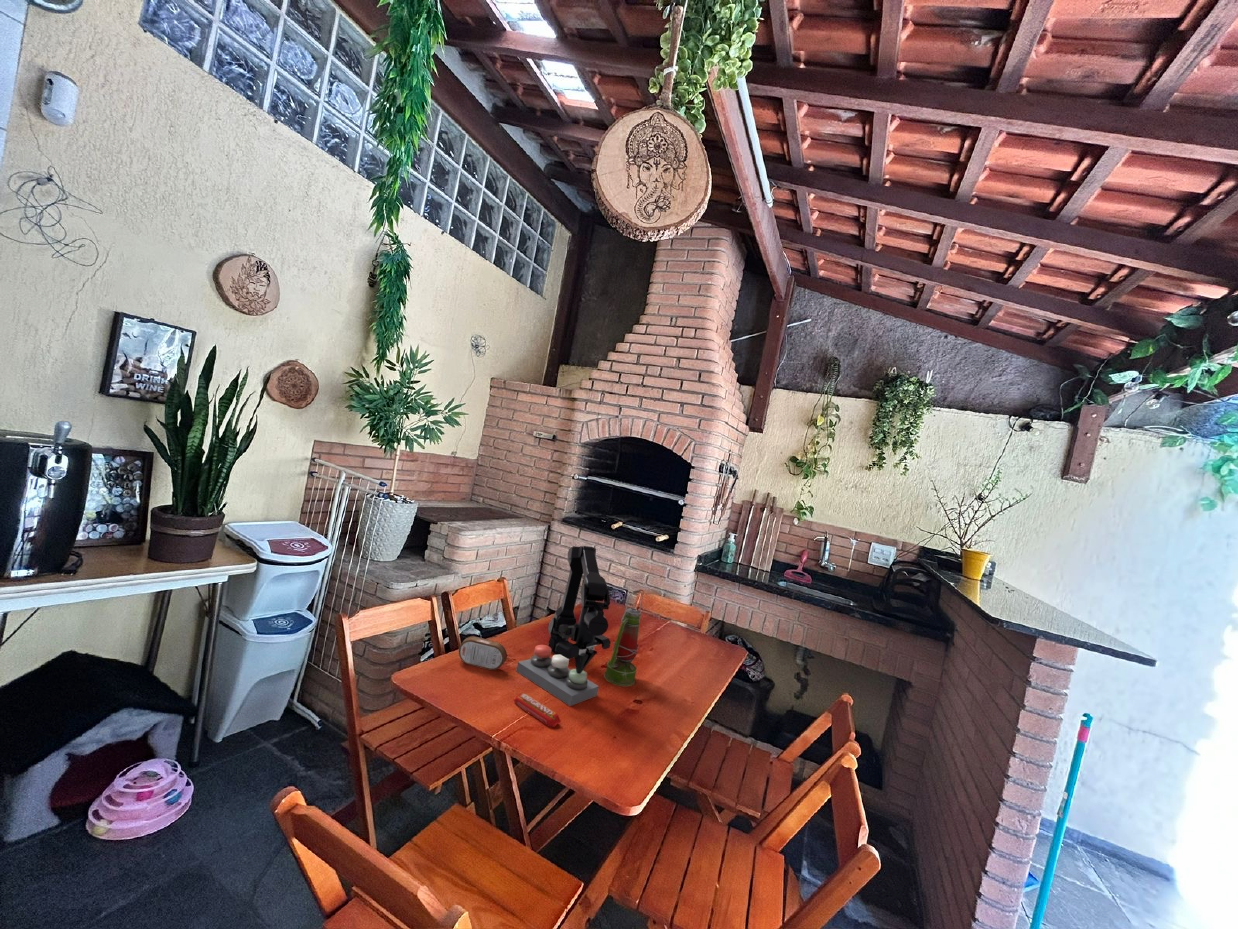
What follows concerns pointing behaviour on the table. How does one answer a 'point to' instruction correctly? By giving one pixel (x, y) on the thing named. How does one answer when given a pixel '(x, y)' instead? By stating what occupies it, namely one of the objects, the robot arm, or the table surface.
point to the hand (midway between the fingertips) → (578, 673)
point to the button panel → (556, 680)
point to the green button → (577, 676)
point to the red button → (542, 651)
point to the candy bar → (537, 710)
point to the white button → (560, 661)
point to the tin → (482, 653)
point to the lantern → (625, 649)
